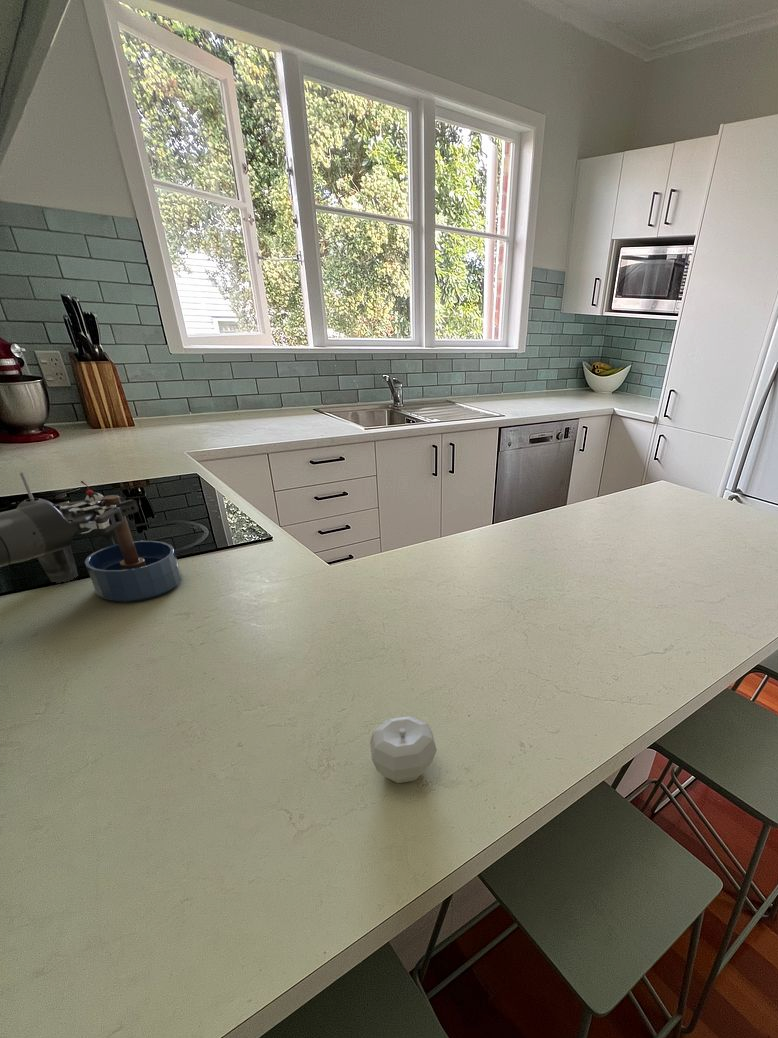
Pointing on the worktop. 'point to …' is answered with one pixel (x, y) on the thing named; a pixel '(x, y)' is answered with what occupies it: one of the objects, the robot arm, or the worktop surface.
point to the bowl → (134, 572)
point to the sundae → (97, 496)
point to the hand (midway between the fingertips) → (130, 503)
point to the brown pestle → (125, 540)
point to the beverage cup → (58, 562)
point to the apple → (402, 748)
